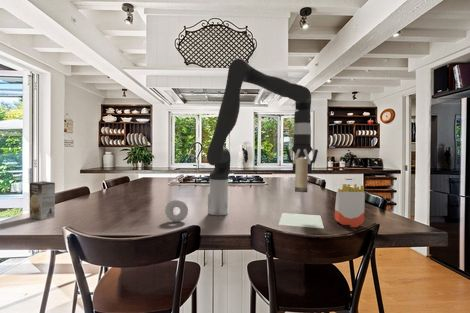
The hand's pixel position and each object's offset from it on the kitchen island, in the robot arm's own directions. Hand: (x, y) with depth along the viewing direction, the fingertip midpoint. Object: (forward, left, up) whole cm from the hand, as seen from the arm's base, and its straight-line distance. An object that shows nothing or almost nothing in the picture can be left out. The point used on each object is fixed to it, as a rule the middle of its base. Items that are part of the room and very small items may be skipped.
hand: (301, 172), depth 121 cm
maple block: (0, +6, -1) cm, 6 cm away
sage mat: (0, +1, -22) cm, 22 cm away
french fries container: (+20, +1, -22) cm, 30 cm away
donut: (-53, -14, -22) cm, 59 cm away
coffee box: (-115, -24, -22) cm, 120 cm away
